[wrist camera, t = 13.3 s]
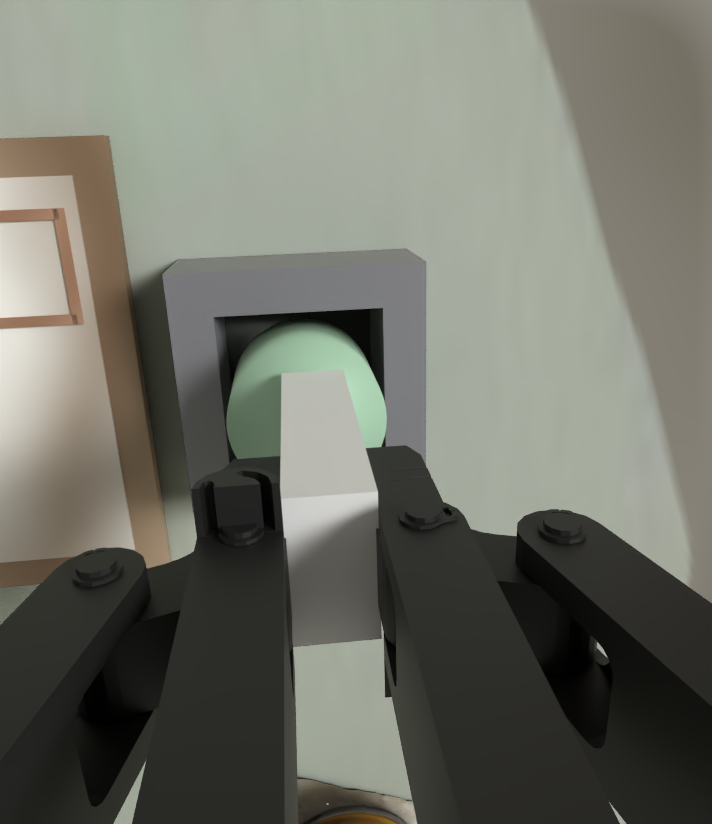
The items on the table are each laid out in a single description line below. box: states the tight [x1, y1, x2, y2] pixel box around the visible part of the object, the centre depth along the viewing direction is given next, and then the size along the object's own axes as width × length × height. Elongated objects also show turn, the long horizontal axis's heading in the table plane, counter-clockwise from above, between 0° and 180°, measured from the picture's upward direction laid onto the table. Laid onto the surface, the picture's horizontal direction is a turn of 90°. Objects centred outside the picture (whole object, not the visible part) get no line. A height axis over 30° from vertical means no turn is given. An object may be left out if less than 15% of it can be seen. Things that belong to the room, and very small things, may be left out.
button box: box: [162, 249, 426, 512], centre depth 21 cm, size 7×7×3 cm
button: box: [226, 319, 387, 459], centre depth 18 cm, size 4×4×3 cm
